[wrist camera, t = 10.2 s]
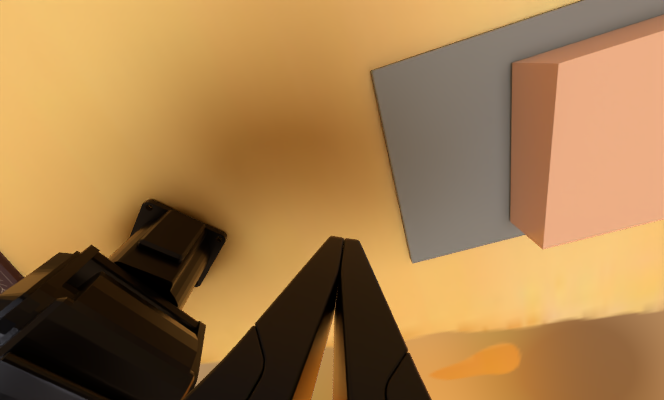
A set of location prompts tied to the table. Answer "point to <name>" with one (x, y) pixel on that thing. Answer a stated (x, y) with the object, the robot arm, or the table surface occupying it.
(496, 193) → the mat
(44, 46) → the table surface
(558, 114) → the salmon pink block
